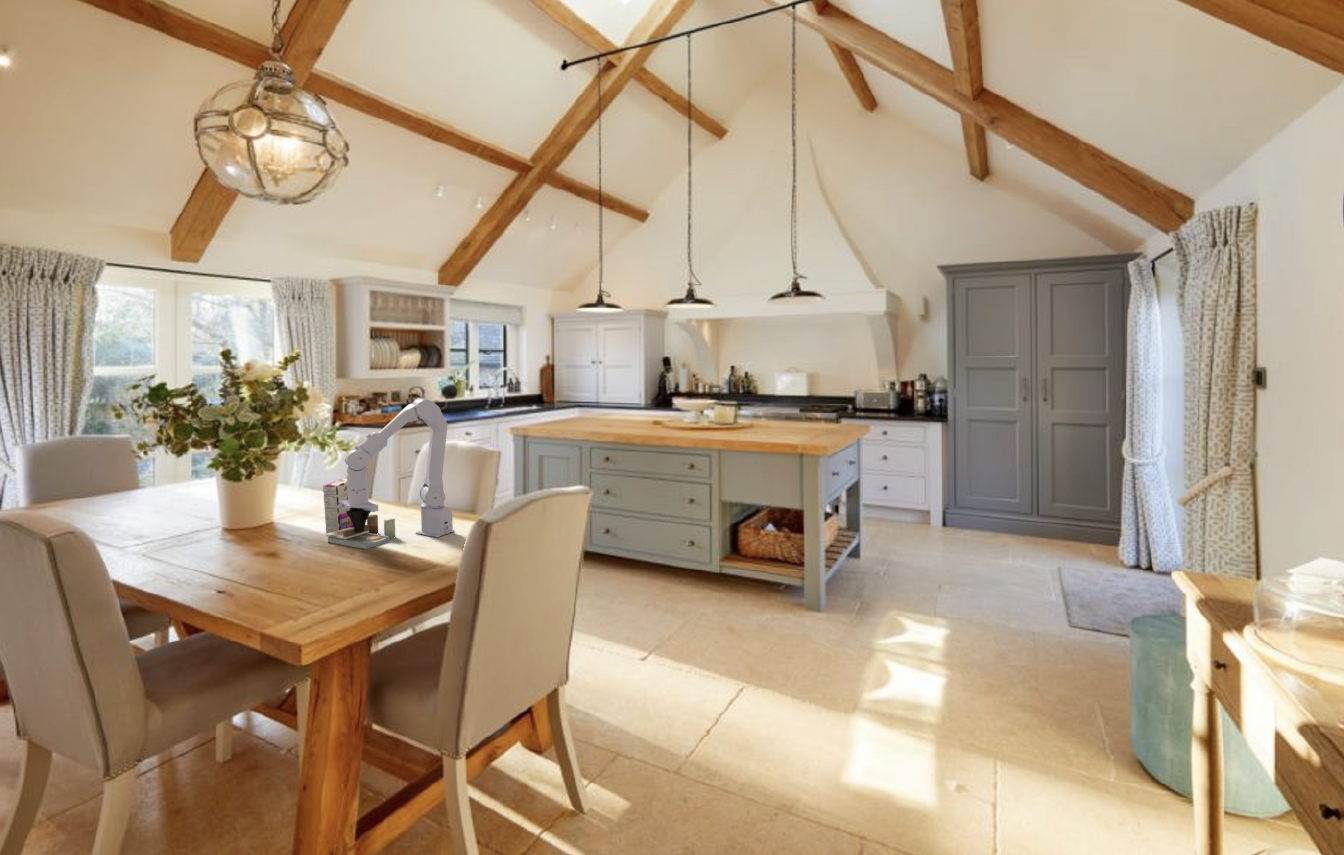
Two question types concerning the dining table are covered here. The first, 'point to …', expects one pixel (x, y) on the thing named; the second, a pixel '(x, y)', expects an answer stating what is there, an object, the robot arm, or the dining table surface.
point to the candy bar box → (336, 506)
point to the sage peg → (389, 527)
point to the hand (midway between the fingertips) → (359, 531)
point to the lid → (347, 533)
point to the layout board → (361, 540)
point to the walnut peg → (373, 524)
